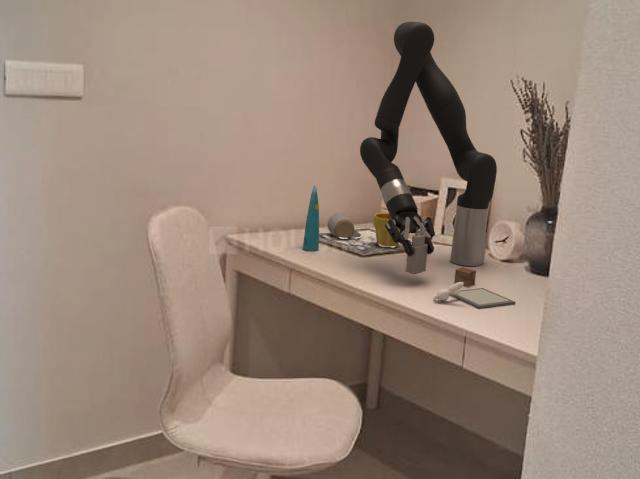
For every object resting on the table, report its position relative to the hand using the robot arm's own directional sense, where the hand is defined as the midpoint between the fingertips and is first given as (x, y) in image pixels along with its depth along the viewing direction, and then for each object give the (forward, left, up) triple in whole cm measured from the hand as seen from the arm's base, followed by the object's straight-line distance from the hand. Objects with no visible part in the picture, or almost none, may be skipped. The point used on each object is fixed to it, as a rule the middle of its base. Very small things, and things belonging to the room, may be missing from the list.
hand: (421, 253), depth 185 cm
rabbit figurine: (+1, +14, -9) cm, 16 cm away
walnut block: (-14, +2, -9) cm, 16 cm away
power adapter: (0, -2, -6) cm, 6 cm away
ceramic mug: (-10, -53, -9) cm, 55 cm away
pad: (-9, +14, -9) cm, 19 cm away
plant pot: (-18, -40, -9) cm, 44 cm away
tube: (+9, -42, -9) cm, 43 cm away
